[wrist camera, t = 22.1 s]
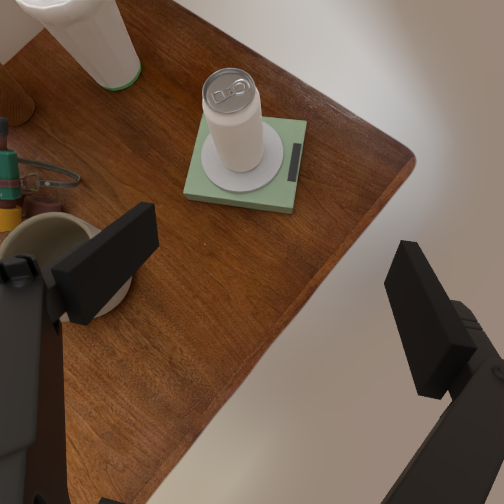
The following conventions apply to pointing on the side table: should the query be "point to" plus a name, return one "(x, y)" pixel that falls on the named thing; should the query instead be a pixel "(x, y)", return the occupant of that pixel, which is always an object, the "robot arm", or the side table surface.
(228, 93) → the can
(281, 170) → the scale
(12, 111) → the disposable coffee cup
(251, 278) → the side table surface
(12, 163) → the binoculars
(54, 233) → the planter
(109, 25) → the cup
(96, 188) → the side table surface
